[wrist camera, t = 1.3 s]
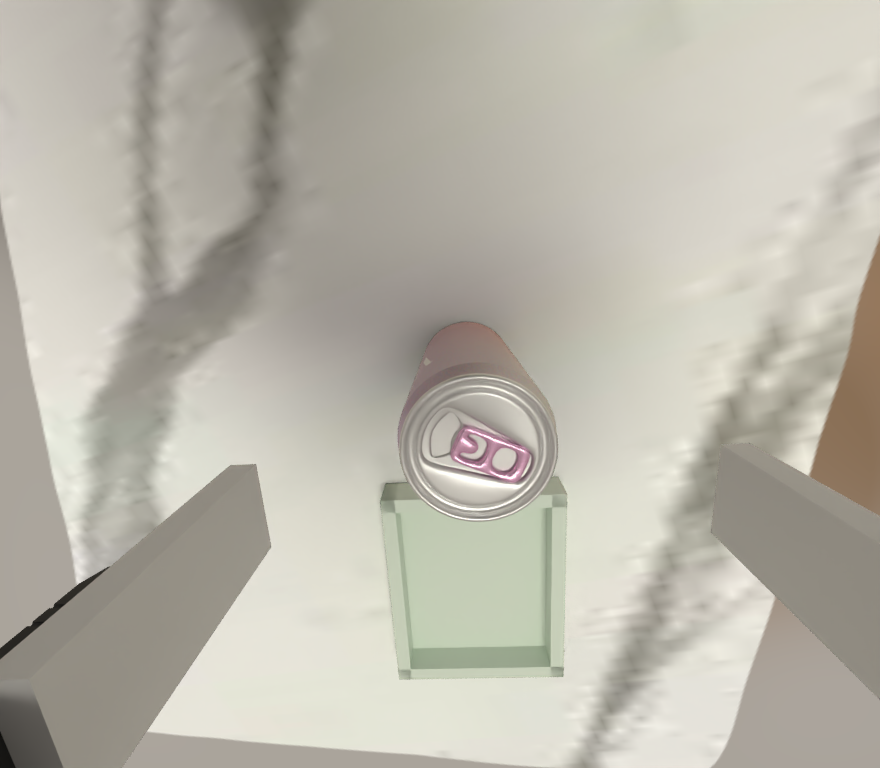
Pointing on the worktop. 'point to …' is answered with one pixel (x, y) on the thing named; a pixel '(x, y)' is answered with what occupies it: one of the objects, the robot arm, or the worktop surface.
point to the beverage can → (475, 428)
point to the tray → (476, 588)
